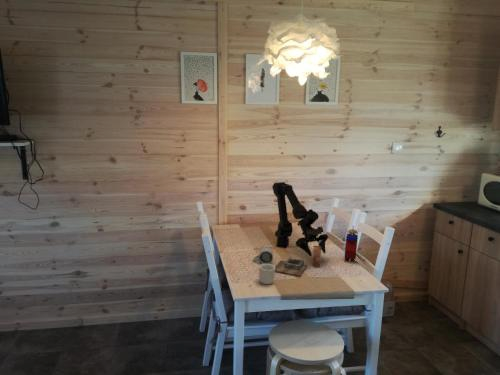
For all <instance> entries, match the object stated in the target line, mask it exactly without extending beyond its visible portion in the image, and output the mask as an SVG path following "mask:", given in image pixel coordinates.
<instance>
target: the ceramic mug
mask: <svg viewBox="0 0 500 375" xmlns="http://www.w3.org/2000/svg"><path fill="white" fill-rule="evenodd" d="M273 259H274V253H273V250H272V249H271V248H270V247H262V248H261V249H260V251H259V253H258V255H255V256H254V257H253V262H255V263H258V262H260V263H261V264H272V262H273Z"/></svg>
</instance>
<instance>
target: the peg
mask: <svg viewBox="0 0 500 375" xmlns="http://www.w3.org/2000/svg"><path fill="white" fill-rule="evenodd" d="M312 250H313V251H312V264H311V266H312V267H313V268H315V269H316V268H320V266H321V257H322V256H321V255H322V254H321V252H322V250H321V246H319V245H314V246H313V249H312Z"/></svg>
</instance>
